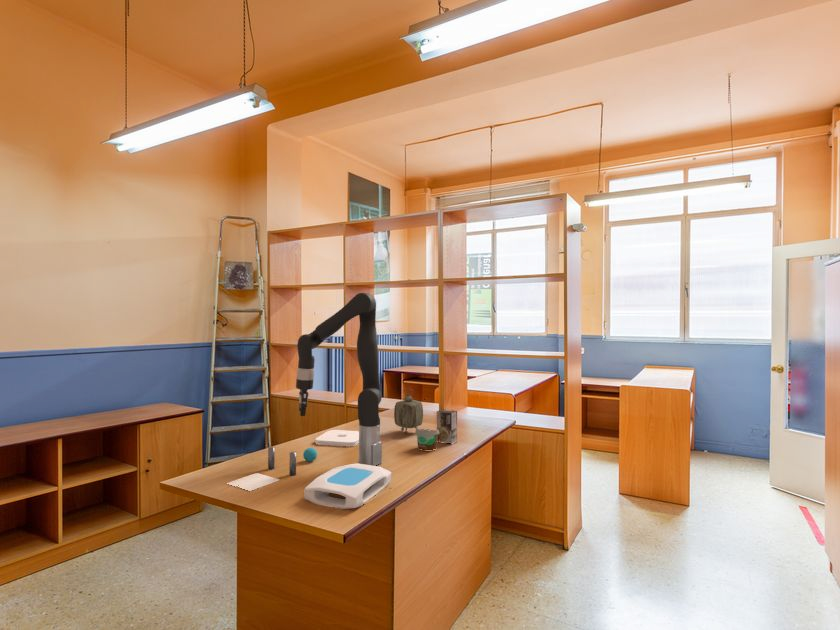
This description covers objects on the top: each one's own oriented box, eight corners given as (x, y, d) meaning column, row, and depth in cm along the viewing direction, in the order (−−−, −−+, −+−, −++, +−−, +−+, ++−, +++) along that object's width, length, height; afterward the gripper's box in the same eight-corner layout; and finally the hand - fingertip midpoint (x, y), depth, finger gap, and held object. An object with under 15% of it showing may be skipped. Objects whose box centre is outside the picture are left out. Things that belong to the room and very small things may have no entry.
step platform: (302, 502, 157) (302, 484, 157) (345, 476, 183) (345, 461, 183) (355, 512, 149) (355, 493, 149) (392, 484, 175) (392, 467, 175)
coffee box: (457, 442, 233) (457, 410, 233) (451, 444, 228) (451, 413, 228) (442, 439, 238) (442, 408, 238) (436, 442, 233) (436, 410, 233)
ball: (319, 460, 202) (320, 447, 202) (310, 464, 196) (310, 450, 197) (310, 458, 205) (310, 445, 205) (300, 461, 200) (300, 448, 200)
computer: (354, 448, 223) (354, 442, 223) (312, 445, 227) (313, 440, 227) (368, 436, 244) (368, 431, 244) (330, 434, 249) (330, 429, 249)
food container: (411, 450, 218) (411, 429, 218) (416, 446, 224) (416, 426, 224) (435, 453, 214) (435, 432, 214) (439, 449, 219) (439, 429, 220)
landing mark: (279, 480, 177) (279, 479, 177) (249, 491, 166) (249, 491, 166) (256, 473, 185) (256, 472, 185) (226, 483, 173) (226, 483, 173)
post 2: (297, 474, 184) (297, 452, 184) (292, 476, 182) (292, 453, 182) (292, 473, 185) (293, 451, 185) (288, 475, 183) (288, 452, 183)
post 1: (275, 468, 191) (275, 447, 191) (270, 470, 189) (270, 448, 189) (271, 467, 192) (271, 446, 192) (266, 469, 190) (266, 447, 190)
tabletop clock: (423, 433, 251) (423, 388, 251) (414, 436, 243) (414, 390, 243) (401, 429, 259) (401, 386, 259) (392, 432, 251) (392, 388, 251)
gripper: (314, 381, 198) (311, 417, 198) (312, 375, 212) (309, 409, 212) (297, 380, 196) (294, 417, 196) (295, 374, 209) (292, 409, 210)
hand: (302, 413), depth 204 cm, fingers open, 8 cm apart
